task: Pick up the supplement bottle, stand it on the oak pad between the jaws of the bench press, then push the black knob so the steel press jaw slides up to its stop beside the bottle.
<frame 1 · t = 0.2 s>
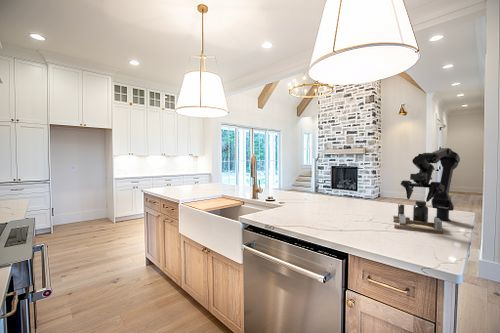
hand: (417, 200, 124), 14 cm above the countertop, tool tilted 30°, fingers open, 9 cm apart
press base: (416, 226, 125), on the countertop
supplement bottle: (420, 222, 134), on the countertop
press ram: (401, 214, 133), point 5 cm above the countertop, slide at 0.0 cm
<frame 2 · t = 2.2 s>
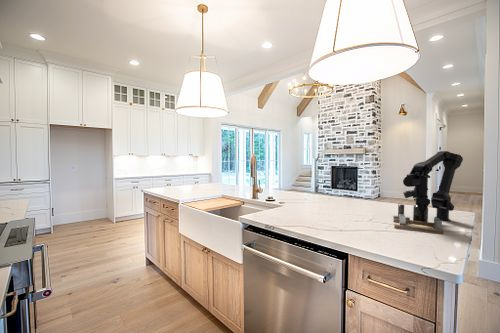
hand: (420, 213, 134), 5 cm above the countertop, tool pointing down, fingers closed on supplement bottle, 7 cm apart
supplement bottle: (420, 222, 134), on the countertop, touching gripper
everything else where it was.
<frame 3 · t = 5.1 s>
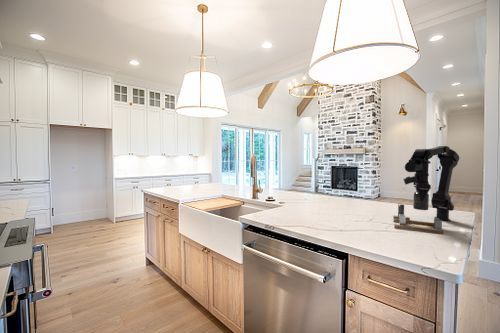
hand: (420, 200, 131), 13 cm above the countertop, tool pointing down, fingers closed on supplement bottle, 7 cm apart
supplement bottle: (420, 209, 131), point 8 cm above the countertop, touching gripper
everything else where it was.
when the fingers open (6 cm above the countertop, at t = 7.8 s): supplement bottle stays where it is, resting on press base.
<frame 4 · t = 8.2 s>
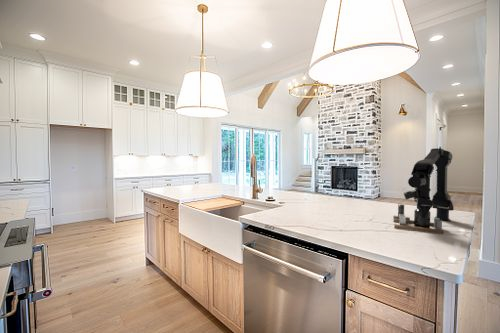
hand: (422, 215, 124), 6 cm above the countertop, tool pointing down, fingers open, 9 cm apart
supplement bottle: (421, 228, 124), resting on press base
everything else where it was.
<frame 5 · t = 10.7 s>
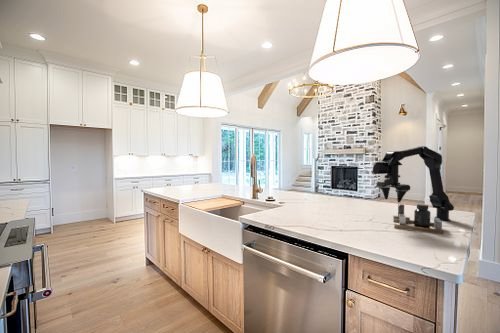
hand: (392, 200, 135), 12 cm above the countertop, tool pointing down, fingers open, 9 cm apart
nothing on the countertop moved.
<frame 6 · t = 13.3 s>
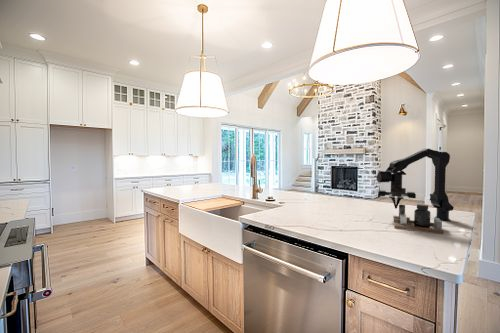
hand: (395, 208, 141), 6 cm above the countertop, tool pointing down, fingers closed
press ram: (402, 214, 133), point 5 cm above the countertop, slide at 0.4 cm, touching gripper
everything else where it was.
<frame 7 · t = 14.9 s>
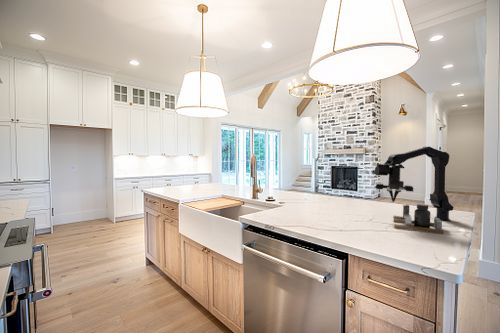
hand: (393, 201, 141), 10 cm above the countertop, tool pointing down, fingers closed
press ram: (407, 215, 131), point 5 cm above the countertop, slide at 2.5 cm
everything else where it was.
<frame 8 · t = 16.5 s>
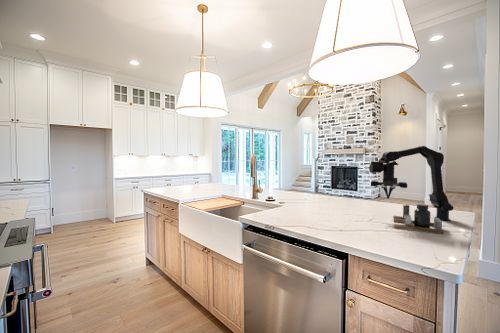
hand: (388, 198, 142), 12 cm above the countertop, tool pointing down, fingers closed
nothing on the countertop moved.
at the end: supplement bottle 0.4 cm from the target spot on the press base, point 0.0 cm above the press base's base; supplement bottle tilted 0°; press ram slide at 2.5 cm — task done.
